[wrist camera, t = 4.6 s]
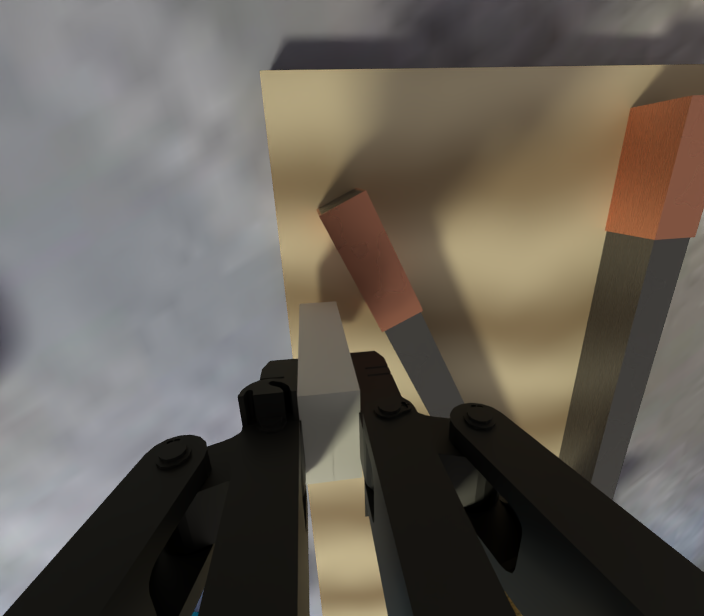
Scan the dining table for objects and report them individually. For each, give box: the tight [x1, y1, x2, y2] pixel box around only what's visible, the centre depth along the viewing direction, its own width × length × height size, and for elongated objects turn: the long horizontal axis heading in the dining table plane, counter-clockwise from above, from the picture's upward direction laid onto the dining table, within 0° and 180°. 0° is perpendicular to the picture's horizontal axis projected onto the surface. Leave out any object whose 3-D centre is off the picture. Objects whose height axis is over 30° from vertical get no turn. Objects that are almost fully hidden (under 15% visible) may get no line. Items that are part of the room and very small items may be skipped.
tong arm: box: [316, 188, 464, 418], centre depth 17 cm, size 23×2×2 cm, turn 27°
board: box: [260, 64, 704, 616], centre depth 20 cm, size 33×19×2 cm, turn 2°
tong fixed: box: [559, 95, 704, 499], centre depth 18 cm, size 28×4×2 cm, turn 2°
